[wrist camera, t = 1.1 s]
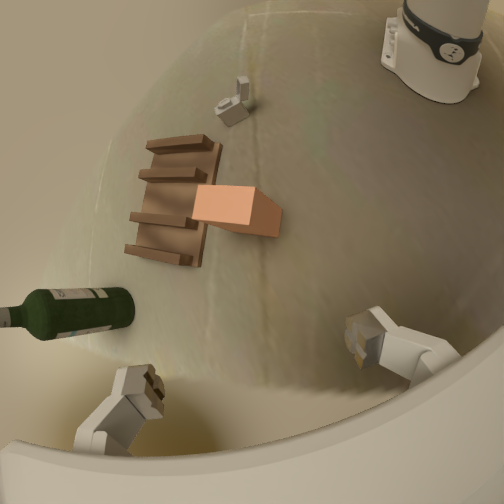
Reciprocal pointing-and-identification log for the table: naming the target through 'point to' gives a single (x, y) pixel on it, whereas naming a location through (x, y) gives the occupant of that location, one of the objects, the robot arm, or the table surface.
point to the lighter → (234, 104)
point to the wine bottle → (70, 312)
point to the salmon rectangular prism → (237, 209)
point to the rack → (174, 199)
